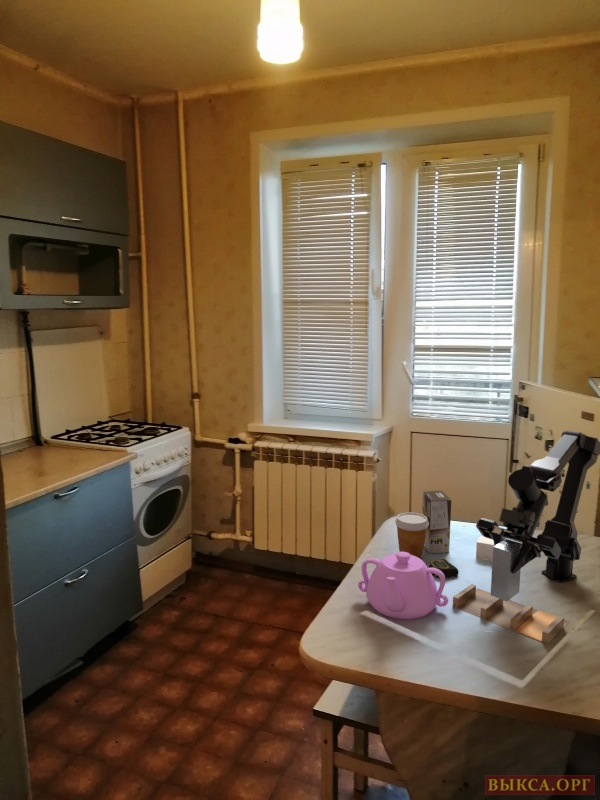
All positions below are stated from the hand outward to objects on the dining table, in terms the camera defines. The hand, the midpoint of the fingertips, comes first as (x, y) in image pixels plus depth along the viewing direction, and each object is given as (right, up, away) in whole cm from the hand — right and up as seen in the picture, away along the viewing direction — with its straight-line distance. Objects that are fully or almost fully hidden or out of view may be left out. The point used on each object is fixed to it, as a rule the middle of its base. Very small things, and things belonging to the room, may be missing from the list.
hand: (503, 570), depth 139 cm
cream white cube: (+7, -7, +37) cm, 38 cm away
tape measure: (-8, -9, +25) cm, 28 cm away
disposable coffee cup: (-15, -7, +36) cm, 40 cm away
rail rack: (+3, -12, +4) cm, 13 cm away
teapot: (-23, -12, +7) cm, 27 cm away
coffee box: (-6, -5, +44) cm, 45 cm away
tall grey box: (+1, -6, +2) cm, 7 cm away
